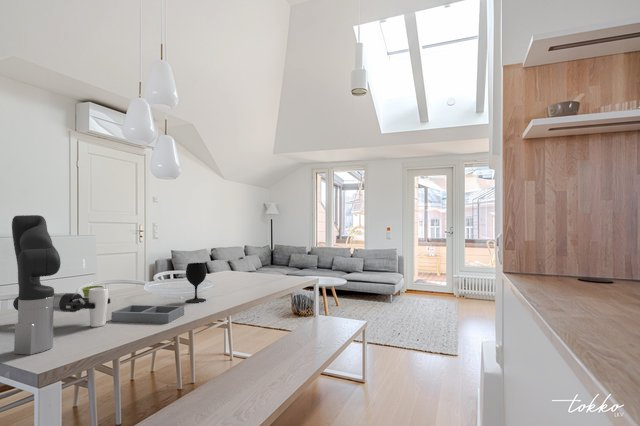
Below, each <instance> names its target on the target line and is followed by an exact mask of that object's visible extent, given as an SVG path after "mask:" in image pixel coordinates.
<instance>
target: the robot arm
mask: <svg viewBox="0 0 640 426" xmlns="http://www.w3.org/2000/svg"><path fill="white" fill-rule="evenodd" d="M11 231H12V233H11V234H12V240H13V248H14V253H15V254H14V255H15V257H16V259H15V260H16V264H17V283H18V296H17V297H15V298H14V300H13V302H12V306H13V308H14V309H15V310H16V311H17V323H15V324H14V344H13V347H14V348H13V354H14V355H34V354H38V353H42V352H46V351H48V350H50V349H52V348H53V347H54V312H58V313H60V312H61V313H75V312H78V311H81V310H83V311H84V310H86V309H87V310H89V309H95V303H89V297H84V296H82V294H80V293H79V292H77V293H75V292H73V293H71V292H59V293H55V288H54V287H52V286H49V285H44V284H42V282H41V278H42V277H50V276H53V275H56V274H57V273H58V272H59V270H60V268H61V257H60V253H59V252H58V250H57V249H56V248H55V245H53V241H52V238H51V237H52V236H50V233H49V231H48V225H47V222H46V219H45V217H44V216H42V215H37V214H35V215H34V214H33V215H28V214H27V215H26V214H25V215H24V214H23V215H15V216H13V218H12V221H11ZM109 304H111V298H110V297H108V303H107V305H109Z"/></svg>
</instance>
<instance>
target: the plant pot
mask: <svg viewBox="0 0 640 426" xmlns="http://www.w3.org/2000/svg"><path fill="white" fill-rule="evenodd" d="M98 287H104V285H103V286H102V285H89V286H85V287H82V288H81V290H82V293H83V297H89V289H92V288H98Z"/></svg>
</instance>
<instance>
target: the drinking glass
mask: <svg viewBox="0 0 640 426" xmlns="http://www.w3.org/2000/svg"><path fill="white" fill-rule="evenodd" d="M108 298H109V288H108V287H106V286H103V287H98V288H92V289H89V303H95V309H88V310H89V311H88V312H89V321H90V322H89V323H90V324H89V326H90V327H92V328H99V327H103V326H105V325H106V323H107V322H106V321H107V319H106V318H107V310H108V304H107V303H108Z"/></svg>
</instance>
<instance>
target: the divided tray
mask: <svg viewBox="0 0 640 426" xmlns="http://www.w3.org/2000/svg"><path fill="white" fill-rule="evenodd" d="M184 315H185V306H184V305H158V304H156V305H154V304H153V305H151V304H150V305H149V304H148V305H147V304H129V305H127V306H124V307H121V308H119V309H116V310H114V311H112V312H111V322H121V323H122V322H126V323H150V324H151V323H155V324H159V323H160V324H169V323H171V322H173V321H175V320H177V319H179V318H180V317H183V316H184Z"/></svg>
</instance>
